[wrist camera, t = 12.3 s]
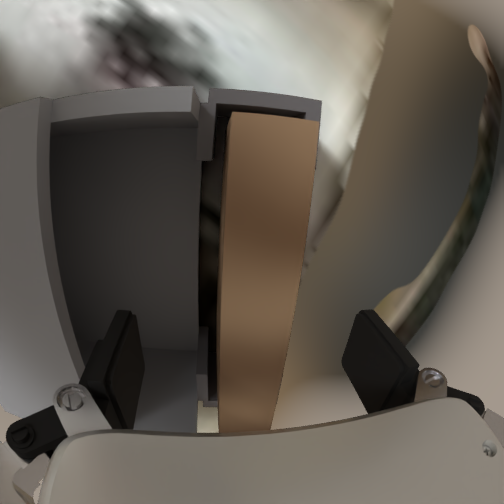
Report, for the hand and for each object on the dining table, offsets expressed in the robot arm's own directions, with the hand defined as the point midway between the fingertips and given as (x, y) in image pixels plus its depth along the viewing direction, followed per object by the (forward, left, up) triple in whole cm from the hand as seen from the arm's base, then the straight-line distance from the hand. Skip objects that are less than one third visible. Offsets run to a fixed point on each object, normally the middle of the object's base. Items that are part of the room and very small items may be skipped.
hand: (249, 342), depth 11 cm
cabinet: (0, -8, -11) cm, 14 cm away
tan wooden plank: (0, 0, -12) cm, 12 cm away
